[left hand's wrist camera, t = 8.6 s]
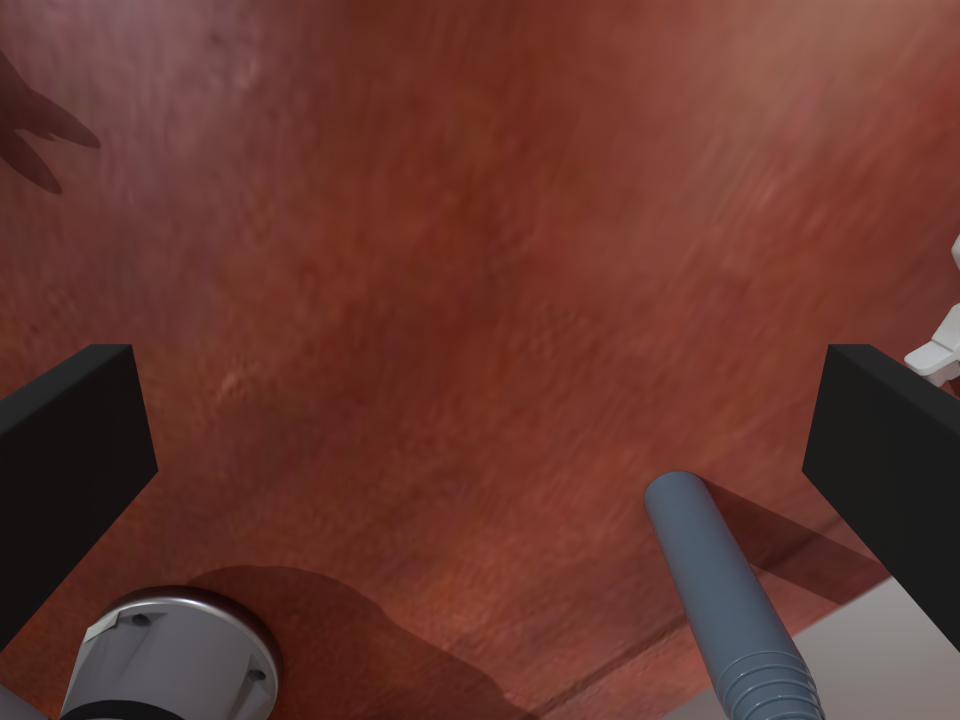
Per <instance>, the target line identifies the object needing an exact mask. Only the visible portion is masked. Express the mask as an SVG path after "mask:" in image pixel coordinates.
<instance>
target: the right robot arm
mask: <svg viewBox="0 0 960 720" xmlns="http://www.w3.org/2000/svg"><path fill="white" fill-rule="evenodd" d="M951 252H952V255H953V258H954V260H955V262H956V264H957V266H958V268H959V270H960V234H959V236H958V238H957V239H956V241H955V243H954V245H953V247H952V250H951ZM931 339H932V341H930V342H928V343H927V344H925V345H923V346H922V347H920V348H918V349H916V350H915V351H913V352H911V353H909V354H908V355H907V356H906V357H905V358H904V361H905V363H906V365H907V367H908V369H910V370H911V371H913V372H914V373H916V374H918V375H919V376H921V377H922V378H924V379H926V380H927V381H929V382H930V383H932V384H934V385H935V386H937V387H940V386H941V385H943V384H944V383H945V381H946V380H952V379H954V378H956V377H958V376H960V365H959V362H958V361H960V303H958V304H956V305H955V306H953V307H952V309H951V310H950V312H949V313H948V315H947V316H946V317H945V319H944V320H943V322H942V323H941V325H940V326H939V328H938V329H937V331H936V332H935V334H934V335H933V337H932V338H931Z"/></svg>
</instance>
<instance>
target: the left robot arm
mask: <svg viewBox="0 0 960 720" xmlns="http://www.w3.org/2000/svg"><path fill="white" fill-rule="evenodd" d="M157 472H158V467H157V462H156V458H155V453H154V448H153V443H152V439H151V434H150V429H149V425H148V420H147V415H146V410H145V406H144V401H143V396H142V392H141V387H140V382H139V378H138V373H137V368H136V363H135V359H134V354H133V349H132V345H131V344H90V345H89V346H87V347H86V348H84V349H82V350H81V351H79V352H78V353H76V354H74V355H73V356H71V357H70V358H68V359H66V360H65V361H63V362H62V363H60V364H58V365H57V366H55V367H54V368H52V369H50V370H49V371H47V372H46V373H44V374H42V375H41V376H39V377H38V378H36V379H34V380H33V381H31V382H30V383H28V384H26V385H25V386H23V387H22V388H20V389H18V390H17V391H15V392H14V393H12V394H10V395H9V396H7V397H6V398H4V399H2V400H1V401H0V652H1V651H2V650H3V649H4V648H5V647H6V646H7V644H8V643H9V642H10V641H11V640H12V639H13V638H14V636H15V635H16V634H17V633H18V632H19V631H20V629H21V628H22V627H23V626H24V625H25V624H26V623H27V621H28V620H29V619H30V618H31V617H32V616H33V615H34V613H35V612H36V611H37V610H38V609H39V608H40V606H41V605H42V604H43V603H44V602H45V601H46V600H47V598H48V597H49V596H50V595H51V594H52V593H53V592H54V590H55V589H56V588H57V587H58V586H59V585H60V584H61V582H62V581H63V580H64V579H65V578H66V577H67V575H68V574H69V573H70V572H71V571H72V570H73V569H74V567H75V566H76V565H77V564H78V563H79V562H80V561H81V559H82V558H83V557H84V556H85V555H86V554H87V552H88V551H89V550H90V549H91V548H92V547H93V546H94V544H95V543H96V542H97V541H98V540H99V539H100V538H101V536H102V535H103V534H104V533H105V532H106V531H107V529H108V528H109V527H110V526H111V525H112V524H113V523H114V521H115V520H116V519H117V518H118V517H119V516H120V515H121V513H122V512H123V511H124V510H125V509H126V508H127V507H128V505H129V504H130V503H131V502H132V501H133V500H134V498H135V497H136V496H137V495H138V494H139V493H140V492H141V490H142V489H143V488H144V487H145V486H146V485H147V484H148V482H149V481H150V480H151V479H152V478H153V477H154V475H155V474H156V473H157ZM802 472H803V473H804V474H805V475H806V477H807V478H808V479H809V480H810V481H811V482H812V484H813V485H814V486H815V487H816V488H817V489H818V490H819V492H820V493H821V494H822V495H823V496H824V497H825V498H826V500H827V501H828V502H829V503H830V504H831V505H832V507H833V508H834V509H835V510H836V511H837V512H838V513H839V515H840V516H841V517H842V518H843V519H844V520H845V521H846V523H847V524H848V525H849V526H850V527H851V528H852V530H853V531H854V532H855V533H856V534H857V535H858V536H859V538H860V539H861V540H862V541H863V542H864V543H865V544H866V546H867V547H868V548H869V549H870V550H871V551H872V552H873V554H874V555H875V556H876V557H877V558H878V559H879V561H880V562H881V563H882V564H883V565H884V566H885V567H886V569H887V570H888V571H889V572H890V573H891V574H892V575H893V577H894V578H895V579H896V580H897V581H898V582H899V584H900V585H901V586H902V587H903V588H904V589H905V590H906V592H907V593H908V594H909V595H910V596H911V597H912V598H913V600H914V601H915V602H916V603H917V604H918V605H919V606H920V608H921V609H922V610H923V611H924V612H925V613H926V615H927V616H928V617H929V618H930V619H931V620H932V621H933V623H934V624H935V625H936V626H937V627H938V628H939V629H940V631H941V632H942V633H943V634H944V635H945V636H946V638H947V639H948V640H949V641H950V642H951V643H952V644H953V646H954V647H955V648H956V649H957V650H958V651H959V652H960V401H959V400H958V399H956V398H954V397H953V396H951V395H950V394H948V393H946V392H945V391H943V390H942V389H940V388H938V387H937V386H935V385H934V384H932V383H930V382H929V381H927V380H926V379H924V378H922V377H921V376H919V375H918V374H916V373H914V372H913V371H911V370H910V369H908V368H906V367H905V366H903V365H902V364H900V363H898V362H897V361H895V360H894V359H892V358H890V357H889V356H887V355H886V354H884V353H882V352H881V351H879V350H878V349H876V348H874V347H873V346H871V345H870V344H829V345H828V349H827V354H826V359H825V363H824V368H823V373H822V378H821V382H820V387H819V392H818V396H817V401H816V406H815V410H814V415H813V420H812V425H811V429H810V434H809V439H808V443H807V448H806V453H805V458H804V462H803V467H802ZM282 679H283V661H282V656H281V653H280V650H279V647H278V645H277V643H276V641H275V640H274V638H273V636H272V635H271V633H270V632H269V631H268V629H267V628H266V627H265V626H264V625H263V624H262V623H261V622H260V621H259V620H258V619H257V618H256V617H255V616H254V615H253V614H251V613H250V612H249V611H247V610H246V609H244V608H243V607H241V606H240V605H238V604H236V603H235V602H233V601H231V600H229V599H227V598H224V597H222V596H220V595H217V594H214V593H212V592H208V591H205V590H201V589H196V588H191V587H183V586H157V587H150V588H145V589H141V590H137V591H134V592H132V593H129V594H127V595H125V596H123V597H121V598H119V599H118V600H116V601H115V602H113V603H112V604H111V605H110V606H108V607H107V608H106V609H105V610H104V612H103V613H102V614H101V615H100V617H99V618H98V619H97V621H96V622H95V623H94V625H93V626H91V627H90V628H88V630H87V633H86V636H85V637H84V639H83V641H82V643H81V646H80V649H79V654H78V657H77V660H76V664H75V667H74V670H73V674H72V677H71V681H70V684H69V687H68V691H67V694H66V697H65V701H64V704H63V707H62V711H61V714H60V717H59V719H58V720H266V719H267V718H268V716H269V715H270V713H271V711H272V709H273V707H274V704H275V701H276V698H277V695H278V692H279V690H280V687H281V684H282ZM0 720H51V719H50V718H48V717H47V716H46V715H44V714H43V713H41V712H40V711H38V710H37V709H35V708H34V707H33V706H31V705H30V704H28V703H27V702H25V701H24V700H22V699H21V698H19V697H18V696H16V695H15V694H13V693H12V692H11V691H9V690H8V689H6V688H5V687H4V686H2V685H1V684H0Z"/></svg>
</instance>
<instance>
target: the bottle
mask: <svg viewBox="0 0 960 720" xmlns="http://www.w3.org/2000/svg"><path fill="white" fill-rule="evenodd" d="M644 507H645V510H646V512H647V515H648V518H649V520H650V523H651V525H652V528H653V531H654V533H655V536H656V539H657V541H658V544H659V546H660V549H661V552H662V554H663V557H664V559H665V562H666V565H667V567H668V570H669V573H670V575H671V578H672V580H673V583H674V586H675V588H676V591H677V594H678V596H679V599H680V601H681V604H682V607H683V609H684V612H685V614H686V617H687V620H688V622H689V625H690V628H691V630H692V633H693V635H694V638H695V641H696V643H697V646H698V648H699V651H700V654H701V656H702V659H703V662H704V664H705V667H706V669H707V672H708V675H709V677H710V680H711V683H712V685H713V688H714V690H715V693H716V695H717V698H718V700H719V702H720V704H721V705H722V707H723V710H724V712H725V714H726V716H727V717H728V719H729V720H826V718H825V714H824V711H823V709H822V707H821V702H820V698H819V696H818V694H817V689H816V685H815V683H814V681H813V679H812V677H811V675H810V671H809V669H808V667H807V665H806V663H805V662H804V660H803V658H802V656H801V654H800V653H799V651H798V649H797V647H796V646H795V644H794V642H793V640H792V638H791V637H790V635H789V633H788V631H787V629H786V628H785V626H784V624H783V622H782V621H781V619H780V617H779V615H778V613H777V612H776V610H775V608H774V606H773V604H772V603H771V601H770V599H769V597H768V596H767V594H766V592H765V590H764V588H763V587H762V585H761V583H760V581H759V579H758V578H757V576H756V574H755V572H754V571H753V569H752V567H751V565H750V563H749V562H748V560H747V558H746V556H745V554H744V553H743V551H742V549H741V547H740V546H739V544H738V542H737V540H736V538H735V537H734V535H733V533H732V531H731V529H730V528H729V526H728V524H727V522H726V521H725V519H724V517H723V515H722V513H721V512H720V510H719V508H718V506H717V504H716V503H715V501H714V499H713V497H712V496H711V494H710V492H709V490H708V488H707V487H706V485H705V483H704V482H703V481H702V480H701V479H700V478H699V477H698V476H696V475H694V474H692V473H689V472H684V471H674V472H669V473H666V474H664V475H661V476H660V477H658V478H657V479H655V480H654V481H653V482H652V483H651V484H650V485H649V487H648V488H647V490H646V492H645V495H644Z"/></svg>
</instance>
